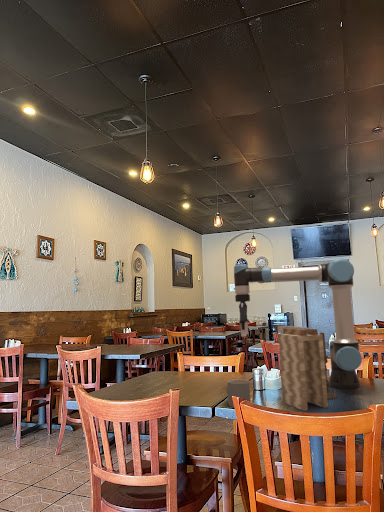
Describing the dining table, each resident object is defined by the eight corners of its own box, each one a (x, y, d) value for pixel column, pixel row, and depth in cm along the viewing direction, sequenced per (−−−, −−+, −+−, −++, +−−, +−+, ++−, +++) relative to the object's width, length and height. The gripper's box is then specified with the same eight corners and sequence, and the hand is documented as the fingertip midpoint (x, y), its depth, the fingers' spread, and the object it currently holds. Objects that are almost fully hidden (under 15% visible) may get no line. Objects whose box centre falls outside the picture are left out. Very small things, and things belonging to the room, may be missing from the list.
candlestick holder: (320, 393, 187) (316, 330, 191) (339, 396, 181) (334, 330, 185) (313, 397, 180) (308, 331, 184) (333, 400, 174) (327, 332, 178)
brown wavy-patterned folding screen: (282, 401, 175) (278, 328, 179) (305, 398, 179) (300, 327, 183) (303, 410, 160) (298, 330, 164) (328, 407, 164) (322, 329, 167)
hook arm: (275, 332, 189) (274, 325, 190) (281, 332, 190) (281, 324, 191) (302, 335, 168) (302, 327, 168) (310, 335, 169) (309, 326, 169)
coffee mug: (254, 405, 170) (253, 382, 171) (234, 408, 167) (232, 384, 168) (241, 399, 183) (239, 377, 184) (221, 401, 179) (220, 379, 181)
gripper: (237, 294, 217) (239, 333, 214) (232, 294, 193) (235, 337, 190) (250, 294, 216) (253, 333, 213) (248, 293, 191) (250, 337, 189)
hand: (244, 335), depth 202 cm, fingers open, 13 cm apart
